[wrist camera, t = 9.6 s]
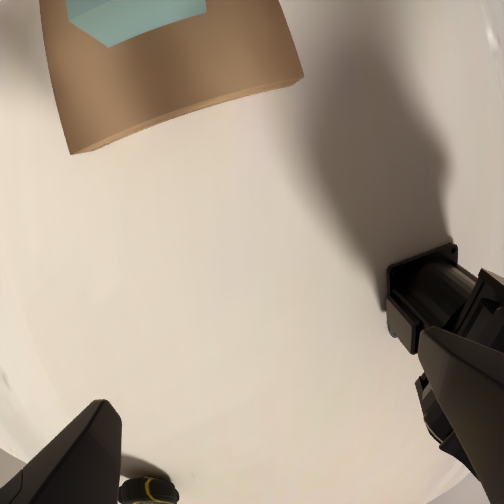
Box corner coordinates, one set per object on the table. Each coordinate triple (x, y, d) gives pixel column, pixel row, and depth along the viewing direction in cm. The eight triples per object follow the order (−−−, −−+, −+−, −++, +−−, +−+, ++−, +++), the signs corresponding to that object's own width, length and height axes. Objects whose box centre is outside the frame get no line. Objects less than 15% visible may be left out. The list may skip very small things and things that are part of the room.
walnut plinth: (227, -82, 10) (229, -107, 8) (291, 85, 15) (304, 76, 13) (56, -22, 11) (37, -37, 8) (93, 151, 16) (70, 155, 13)
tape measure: (112, 482, 27) (115, 507, 24) (134, 468, 26) (138, 497, 23) (158, 490, 31) (162, 513, 27) (185, 476, 29) (191, 502, 26)
